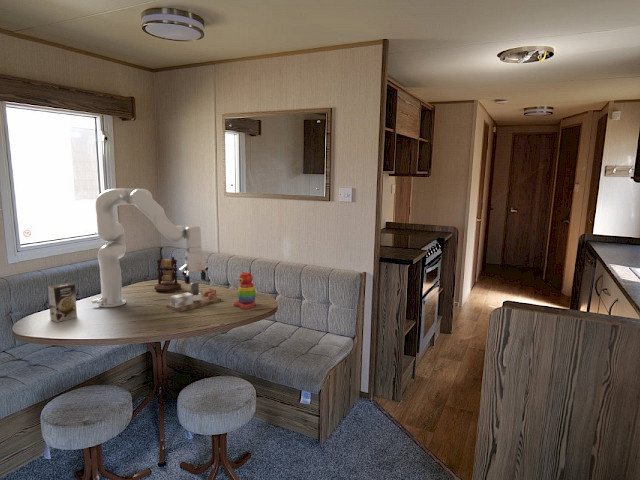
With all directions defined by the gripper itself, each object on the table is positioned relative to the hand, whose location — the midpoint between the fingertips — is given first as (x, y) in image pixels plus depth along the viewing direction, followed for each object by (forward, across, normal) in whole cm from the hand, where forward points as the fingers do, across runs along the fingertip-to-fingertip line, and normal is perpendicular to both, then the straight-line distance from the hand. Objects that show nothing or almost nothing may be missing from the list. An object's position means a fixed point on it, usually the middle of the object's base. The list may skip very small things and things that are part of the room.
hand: (195, 281), depth 223 cm
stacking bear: (+13, +16, -21) cm, 29 cm away
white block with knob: (+10, -5, +1) cm, 11 cm away
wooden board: (+12, -1, +1) cm, 12 cm away
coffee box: (+11, -55, +25) cm, 61 cm away
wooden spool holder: (+12, +4, +35) cm, 37 cm away
